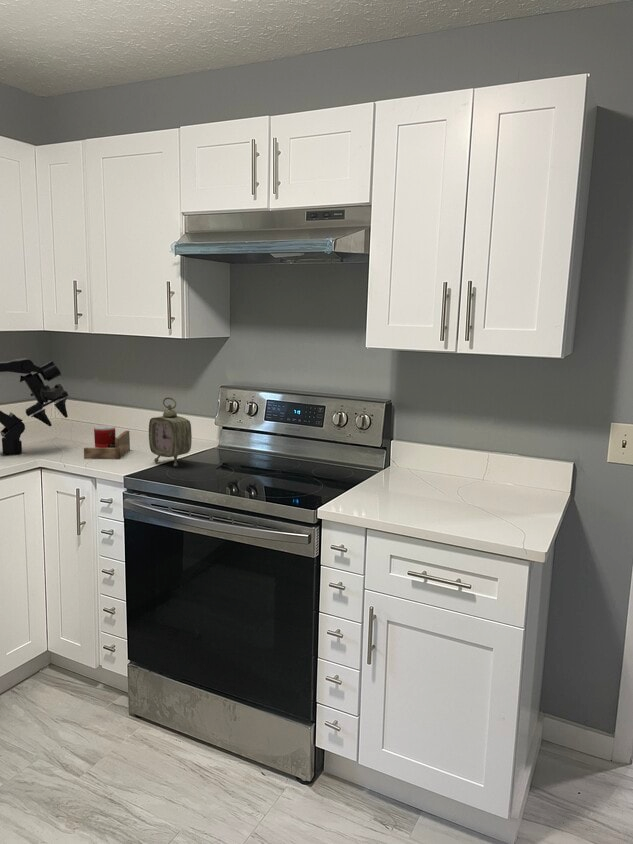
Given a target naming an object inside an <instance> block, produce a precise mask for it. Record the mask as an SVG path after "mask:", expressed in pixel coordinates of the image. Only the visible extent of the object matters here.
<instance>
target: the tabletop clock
mask: <svg viewBox="0 0 633 844" xmlns="http://www.w3.org/2000/svg"><path fill="white" fill-rule="evenodd" d="M167 400H170V401H171V400H172V401H173V403H174V406H172V405H171V404H168V406H167V405H166V404H165V402H166V401H167ZM162 404H163V406H164V407H165V408H166V409H165V410H164V412H163V413H162V416H155V417H151V418H150V419H149V422H148V443H149V450H150V452H151V453H152V454H154V455H156V456H157V457H156V458H154V459H153V461H154V462H155V463H158V462H159V461H160V460H159V459H160V457H163V458H173V467H175V466H177V467H178V466H179V463H178V462H179V460H178V456H182V455H187V454H188V453H189V452H190V451H191V449H192V442H193V441H192V439H193V437H192V436H193V434H192V424H191V420H190V419H187V418H186V417H183V416H180V415H178V414H177V411H175V410H174V409H175V408H176V407H177V401H176V399H174V398H173V397H164V399H163V401H162ZM174 461H175V462H174Z"/></svg>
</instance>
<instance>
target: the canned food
mask: <svg viewBox="0 0 633 844" xmlns="http://www.w3.org/2000/svg"><path fill="white" fill-rule="evenodd" d="M93 433H94V434H93V435H94V437H93V439H94V448H115V438H116V426H114V425H110V424H108V425H96V426H94V427H93Z"/></svg>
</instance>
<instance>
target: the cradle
mask: <svg viewBox="0 0 633 844" xmlns="http://www.w3.org/2000/svg"><path fill="white" fill-rule="evenodd" d="M130 438H131V437H130V430H124V431H123V432H121V433H120V434H119V435H118V436H117V437H116V438H115V448H95V447H84V448H83V459H87V460H89V459H92V460H93V459H95V460H98V459H102V460H108V459H109V460H110V459H111V460H115V459H116V460H121V459H122V458H123V457H124V456H125V455H126V454H127V453H128V452H129V451H131V445H130V444H131V443H130V442H131V441H130Z"/></svg>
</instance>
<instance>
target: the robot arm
mask: <svg viewBox="0 0 633 844" xmlns="http://www.w3.org/2000/svg"><path fill="white" fill-rule="evenodd" d="M1 372H2V373H5V372H6V373H7V372H11V373H17V374H20V376H19V381H18V384H22V383H24V382H25V384H26V386H27V387H28V389H29V391H30V393H29V394H30V396H31V397H34V398H35V400H36V403H35V404H33V405H31V406H30V407H28V408H26V409H25V414H26V416H27V417H31V418H34V419H36V420H38V421H41V422H42V423H43V424H45V425H47V426H48V427H52V426H53V424H52V423H51V421H50V418H49V417H48V415H47V414H46V408H45V407H47V406H48V405H50V404H52V403H54V404H53V405H54V407H55V408H56V409H57V411H58V412H59V413H60V414H61V415H62V416H63V417H64V418H65V419H66V418H68V411H67V405H66V402H67V400H68V397H69V393H68V391H66V390H65V389H64V387H63V386H62V384H61V383H57V384H56V385H54V387H50V386H49V385H48V384H47V385H46V384H45V383H44V382H45V381H46V382H47V383H49V382H51V381H53V380H55V379H57V378H59V377H61V376H62V373H61V370H60V369H59V367H58V366H57V365H56V364H55V363H54V361H53V360H51V361H48V362H47V363H45V364H43V365H41V366H39V365H35V364H34V362H33V360H31V359H28V358H26V357H20V358H17V359H11V360H7V361H0V373H1ZM32 372H33V373H34V374H32ZM21 374H23V375H21ZM0 424H1V425H2V426H3V429H1V431H0V435H1V436H2V438H1V447H2V453H1V455H2V454H12V455H11V456H13V454H15V455H21V454H22V452H23V445H22V442H23V441H22V439H21V436H22V434H23V433H24V432H25V430H26V426H25V423H24V422H23V419H21V418H20V417H18V416H16V414H14V413H13V412H10V411H9V414H8V413H5V412H3V411H2V410H0Z"/></svg>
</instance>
